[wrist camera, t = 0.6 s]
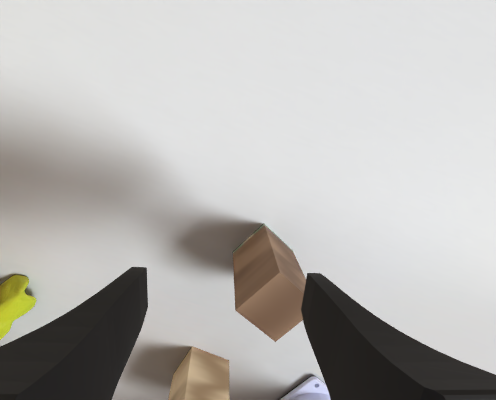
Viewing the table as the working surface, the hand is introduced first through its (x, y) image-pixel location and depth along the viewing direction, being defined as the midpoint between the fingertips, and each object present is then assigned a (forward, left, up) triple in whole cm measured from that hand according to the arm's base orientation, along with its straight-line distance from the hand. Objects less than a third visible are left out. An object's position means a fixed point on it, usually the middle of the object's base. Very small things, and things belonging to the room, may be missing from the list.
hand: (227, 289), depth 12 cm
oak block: (-10, +13, -10) cm, 19 cm away
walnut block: (-5, 0, -10) cm, 11 cm away
